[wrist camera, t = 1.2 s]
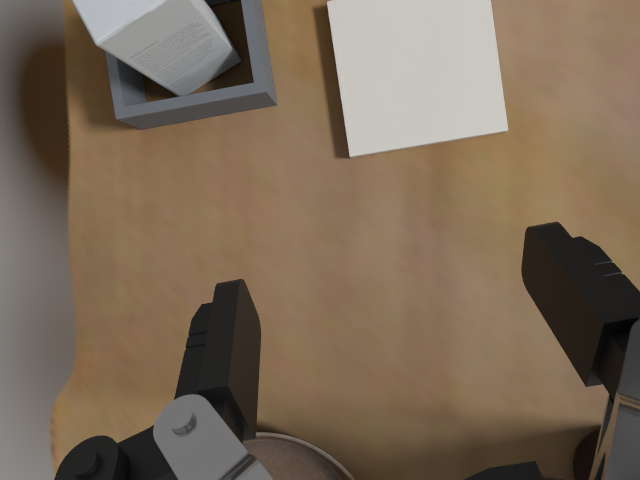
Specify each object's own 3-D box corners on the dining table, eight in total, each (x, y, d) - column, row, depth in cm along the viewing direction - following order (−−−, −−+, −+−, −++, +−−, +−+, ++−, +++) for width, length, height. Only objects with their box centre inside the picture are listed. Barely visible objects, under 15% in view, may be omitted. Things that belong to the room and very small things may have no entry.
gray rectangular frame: (123, 14, 38) (94, -10, 34) (258, -15, 37) (245, -43, 33) (142, 129, 38) (115, 119, 34) (277, 105, 37) (266, 91, 33)
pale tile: (327, 7, 36) (326, 1, 35) (483, -24, 35) (486, -32, 34) (350, 158, 37) (349, 156, 36) (504, 132, 35) (508, 130, 34)
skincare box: (217, 16, 37) (147, -78, 25) (243, 62, 37) (185, -11, 25) (156, 56, 38) (59, -18, 26) (181, 101, 38) (95, 48, 26)
